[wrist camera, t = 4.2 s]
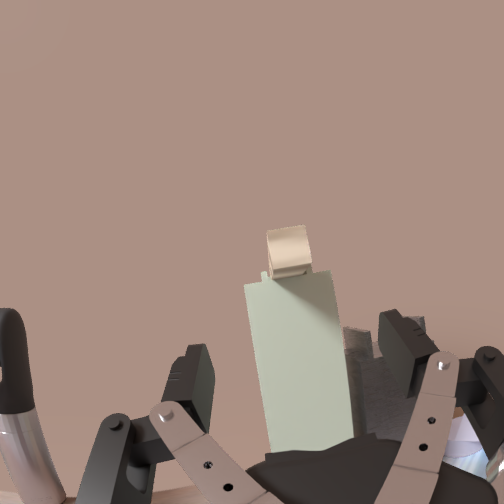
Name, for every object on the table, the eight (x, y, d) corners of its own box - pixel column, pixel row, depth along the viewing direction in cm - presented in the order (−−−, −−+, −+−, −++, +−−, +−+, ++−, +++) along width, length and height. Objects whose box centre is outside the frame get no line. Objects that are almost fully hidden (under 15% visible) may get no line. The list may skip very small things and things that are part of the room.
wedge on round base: (513, 429, 26) (451, 430, 37) (516, 394, 28) (451, 398, 38) (500, 459, 22) (429, 455, 32) (505, 421, 23) (430, 421, 34)
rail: (312, 262, 22) (304, 224, 23) (273, 269, 23) (266, 230, 23) (292, 286, 44) (289, 266, 45) (272, 289, 44) (269, 269, 45)
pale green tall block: (357, 516, 24) (326, 251, 31) (285, 530, 24) (240, 265, 31) (336, 467, 38) (309, 270, 45) (283, 477, 39) (250, 280, 46)
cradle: (432, 491, 23) (430, 314, 28) (369, 515, 23) (356, 334, 28) (406, 463, 33) (396, 314, 38) (352, 480, 33) (336, 328, 38)
